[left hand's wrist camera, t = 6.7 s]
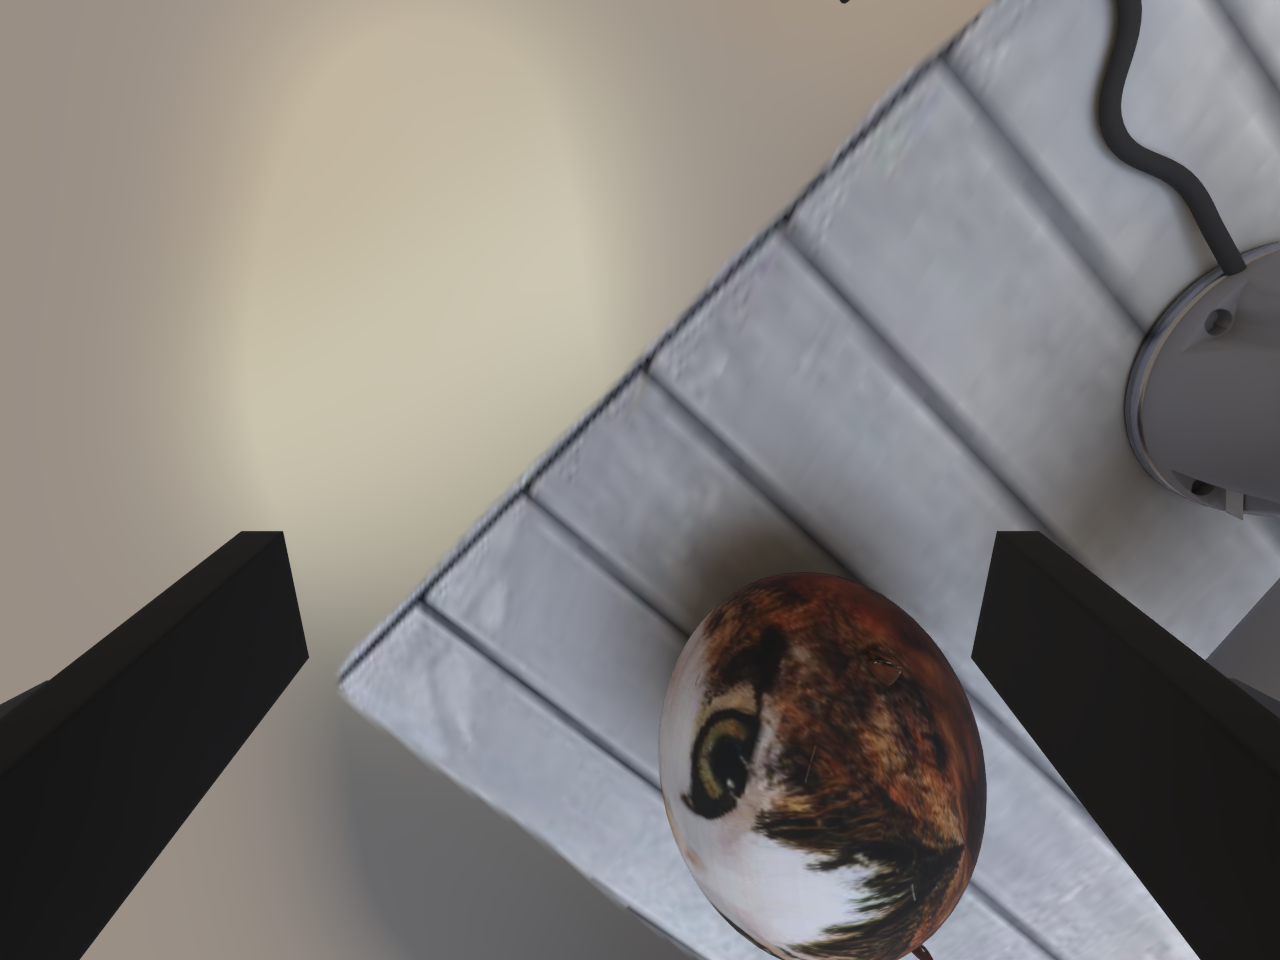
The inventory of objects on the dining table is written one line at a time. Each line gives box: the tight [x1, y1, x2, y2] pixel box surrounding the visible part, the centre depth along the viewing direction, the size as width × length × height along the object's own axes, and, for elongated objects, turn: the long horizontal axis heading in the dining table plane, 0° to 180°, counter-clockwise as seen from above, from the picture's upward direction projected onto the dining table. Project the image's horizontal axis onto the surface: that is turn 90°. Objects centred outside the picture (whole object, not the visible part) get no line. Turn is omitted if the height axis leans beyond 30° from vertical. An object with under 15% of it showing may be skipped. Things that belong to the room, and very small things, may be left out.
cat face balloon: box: [659, 572, 987, 960], centre depth 39 cm, size 22×18×20 cm
